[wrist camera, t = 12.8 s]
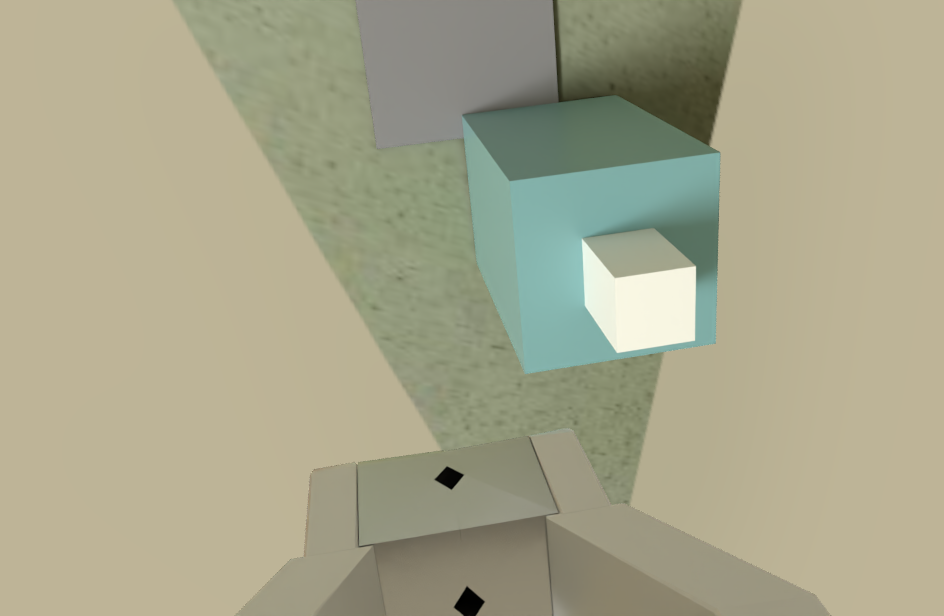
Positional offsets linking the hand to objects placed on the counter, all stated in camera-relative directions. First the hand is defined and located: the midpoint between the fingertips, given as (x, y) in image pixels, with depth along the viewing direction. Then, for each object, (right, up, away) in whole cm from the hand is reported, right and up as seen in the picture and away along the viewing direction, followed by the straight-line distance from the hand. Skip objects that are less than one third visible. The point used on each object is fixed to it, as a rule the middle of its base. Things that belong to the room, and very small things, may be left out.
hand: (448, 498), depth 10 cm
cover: (+4, +9, +37) cm, 39 cm away
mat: (0, +16, +34) cm, 37 cm away
